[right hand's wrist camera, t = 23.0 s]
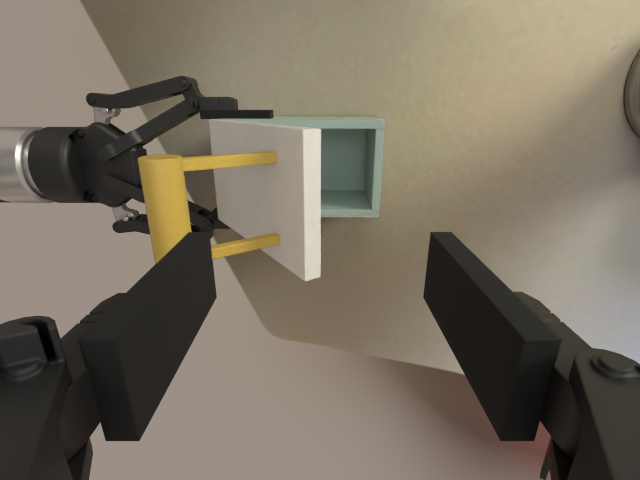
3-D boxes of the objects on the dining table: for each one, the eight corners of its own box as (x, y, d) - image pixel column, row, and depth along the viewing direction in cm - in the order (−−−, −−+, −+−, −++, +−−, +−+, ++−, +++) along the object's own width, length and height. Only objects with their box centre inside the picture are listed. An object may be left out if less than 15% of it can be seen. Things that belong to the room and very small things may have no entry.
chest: (374, 116, 41) (385, 119, 33) (370, 195, 45) (379, 218, 36) (241, 115, 42) (217, 119, 33) (247, 194, 45) (225, 216, 36)
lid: (321, 128, 20) (145, 135, 16) (320, 277, 24) (175, 320, 19) (221, 119, 33) (107, 121, 28) (229, 217, 36) (128, 234, 31)
